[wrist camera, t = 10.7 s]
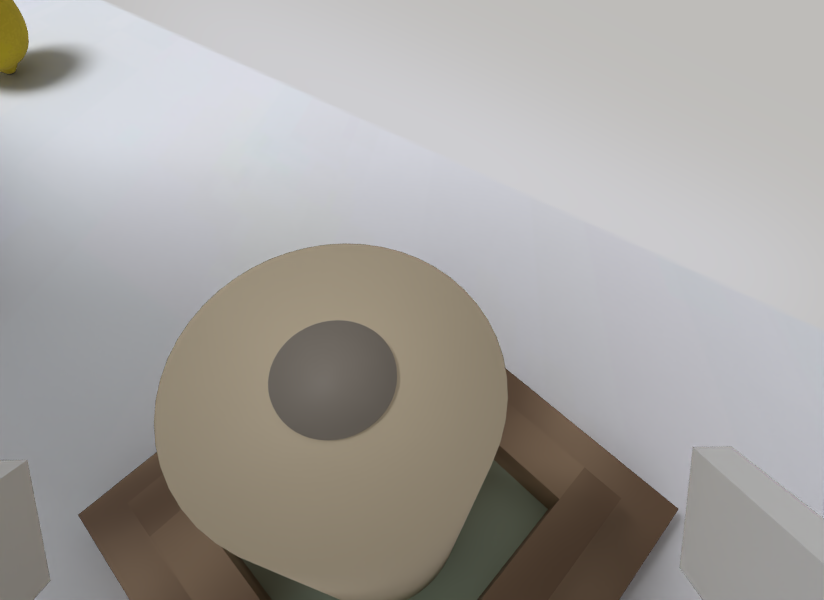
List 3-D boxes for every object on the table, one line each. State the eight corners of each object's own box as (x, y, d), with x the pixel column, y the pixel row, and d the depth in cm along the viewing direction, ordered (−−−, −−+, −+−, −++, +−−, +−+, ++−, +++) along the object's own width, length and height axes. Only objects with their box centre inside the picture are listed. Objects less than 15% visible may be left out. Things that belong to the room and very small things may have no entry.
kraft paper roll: (262, 514, 19) (85, 376, 9) (379, 404, 21) (348, 196, 11) (372, 652, 16) (305, 685, 6) (490, 512, 19) (579, 373, 9)
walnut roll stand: (95, 520, 20) (45, 504, 17) (385, 283, 26) (382, 244, 23) (368, 960, 14) (357, 1040, 11) (665, 515, 20) (703, 497, 17)
